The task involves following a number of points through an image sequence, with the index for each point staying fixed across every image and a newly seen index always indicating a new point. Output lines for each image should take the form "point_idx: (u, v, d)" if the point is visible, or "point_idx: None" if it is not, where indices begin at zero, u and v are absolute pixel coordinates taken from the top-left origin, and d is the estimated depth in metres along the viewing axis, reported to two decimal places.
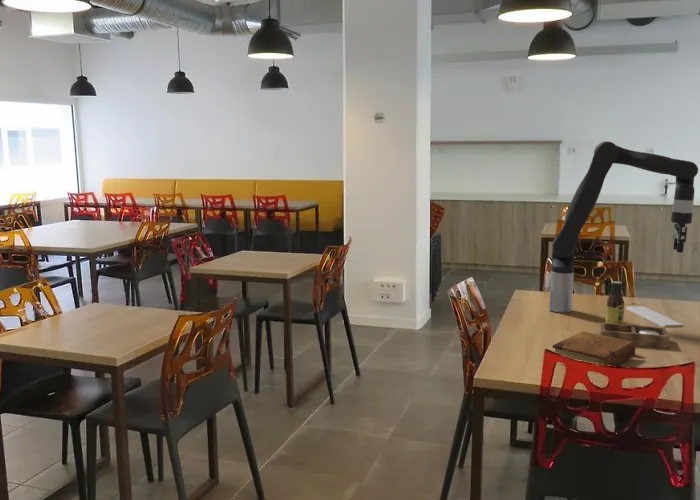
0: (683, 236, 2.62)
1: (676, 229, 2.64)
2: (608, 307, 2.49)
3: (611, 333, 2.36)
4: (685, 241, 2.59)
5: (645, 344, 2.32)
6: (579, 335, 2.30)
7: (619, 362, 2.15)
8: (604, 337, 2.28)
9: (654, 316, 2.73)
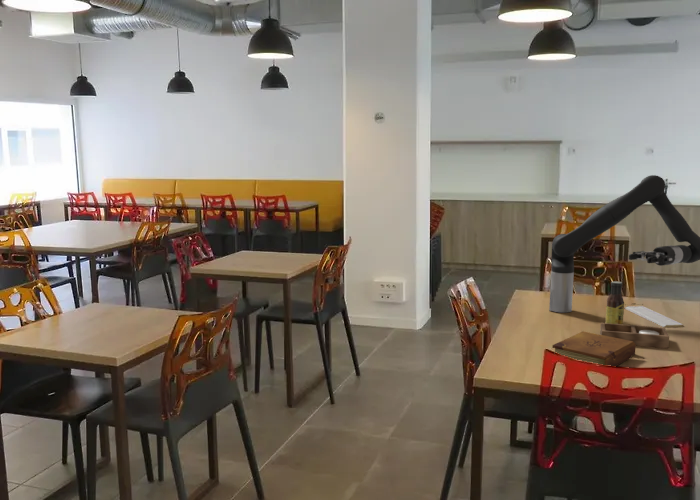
0: None
1: (659, 253, 2.54)
2: (608, 307, 2.49)
3: (611, 333, 2.36)
4: (663, 263, 2.48)
5: (645, 344, 2.32)
6: (579, 335, 2.30)
7: (619, 362, 2.15)
8: (604, 337, 2.28)
9: (654, 316, 2.72)
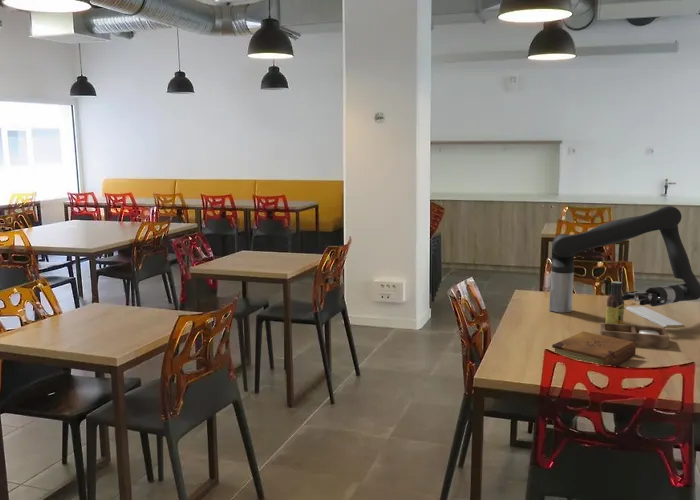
0: None
1: (652, 294, 2.55)
2: (608, 307, 2.49)
3: (611, 333, 2.36)
4: (655, 305, 2.49)
5: (645, 344, 2.32)
6: (579, 335, 2.30)
7: (619, 362, 2.14)
8: (605, 337, 2.28)
9: (655, 316, 2.72)
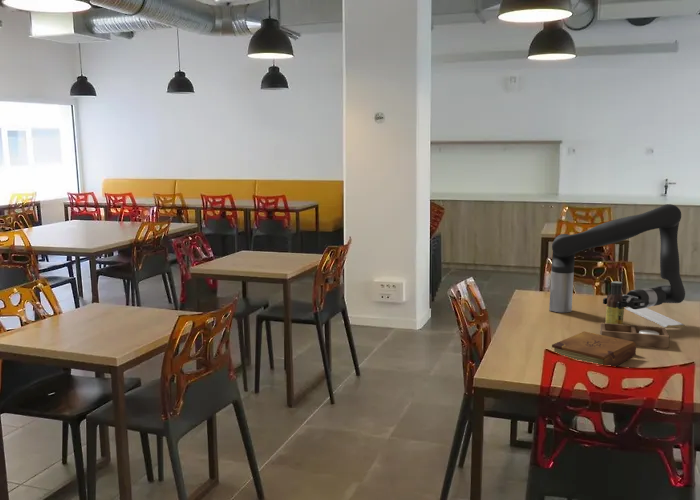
0: None
1: (632, 297, 2.51)
2: (608, 307, 2.49)
3: (611, 333, 2.36)
4: (632, 308, 2.45)
5: (645, 344, 2.32)
6: (579, 335, 2.31)
7: (618, 362, 2.14)
8: (605, 337, 2.28)
9: (655, 316, 2.72)
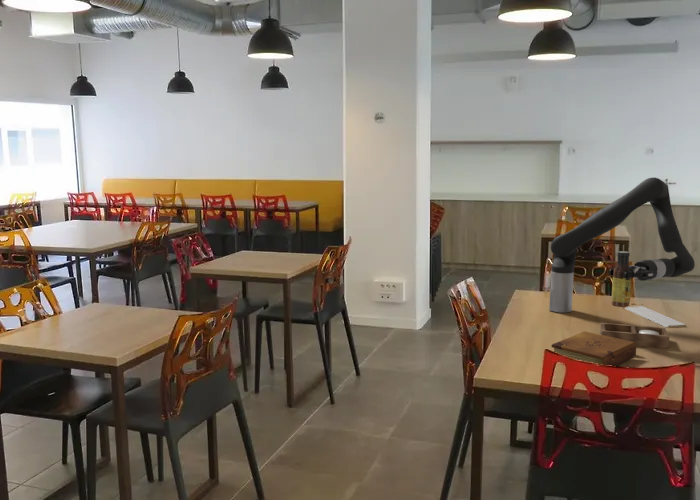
0: None
1: (640, 267, 2.38)
2: (615, 278, 2.36)
3: (611, 333, 2.36)
4: (640, 278, 2.33)
5: (645, 344, 2.32)
6: (580, 335, 2.31)
7: (618, 362, 2.14)
8: (605, 337, 2.28)
9: (656, 316, 2.72)
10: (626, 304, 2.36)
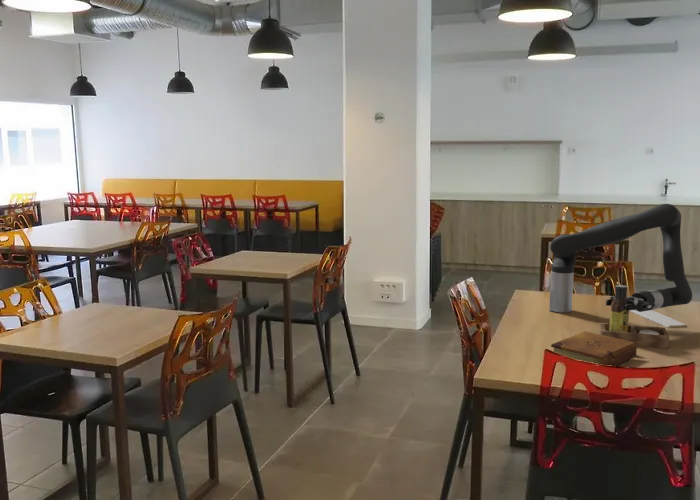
0: None
1: (638, 299, 2.40)
2: (612, 312, 2.39)
3: (611, 333, 2.36)
4: (641, 311, 2.34)
5: (645, 344, 2.32)
6: (580, 335, 2.31)
7: (618, 362, 2.14)
8: (606, 337, 2.28)
9: (656, 316, 2.72)
10: None
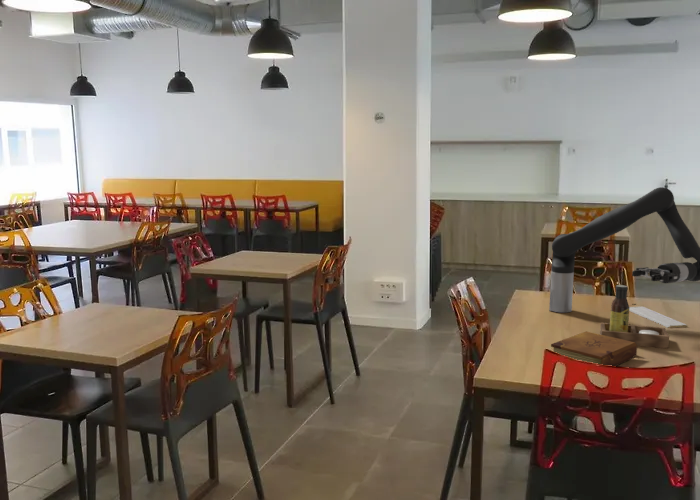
0: None
1: (664, 270, 2.44)
2: (612, 312, 2.39)
3: (611, 333, 2.36)
4: (667, 281, 2.38)
5: (645, 344, 2.32)
6: (581, 335, 2.31)
7: (617, 362, 2.14)
8: (606, 337, 2.28)
9: (657, 316, 2.72)
10: None
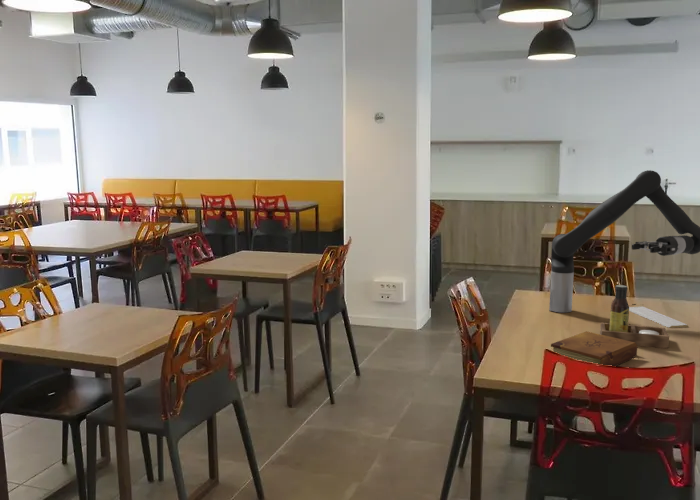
0: None
1: (662, 243, 2.54)
2: (612, 312, 2.39)
3: (611, 333, 2.36)
4: (666, 253, 2.48)
5: (645, 344, 2.32)
6: (581, 335, 2.31)
7: (617, 362, 2.14)
8: (606, 337, 2.28)
9: (657, 317, 2.72)
10: None
